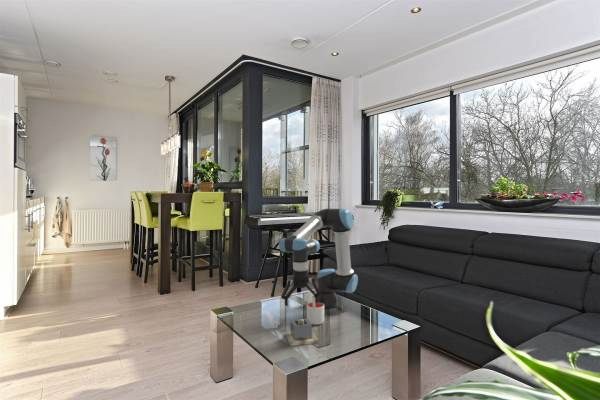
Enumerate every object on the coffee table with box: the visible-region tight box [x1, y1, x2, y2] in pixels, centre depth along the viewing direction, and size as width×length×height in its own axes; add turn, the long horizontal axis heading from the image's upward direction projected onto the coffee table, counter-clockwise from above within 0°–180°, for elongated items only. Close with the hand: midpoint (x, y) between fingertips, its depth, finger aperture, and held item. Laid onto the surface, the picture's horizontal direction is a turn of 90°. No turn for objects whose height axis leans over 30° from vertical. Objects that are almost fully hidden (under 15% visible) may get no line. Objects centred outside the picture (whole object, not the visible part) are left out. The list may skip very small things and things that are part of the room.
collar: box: [289, 317, 313, 340], centre depth 181 cm, size 9×9×7 cm
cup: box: [306, 302, 325, 326], centre depth 203 cm, size 10×10×10 cm
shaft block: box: [284, 318, 319, 347], centre depth 181 cm, size 14×14×10 cm
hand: (301, 310), depth 181 cm, fingers open, 13 cm apart
